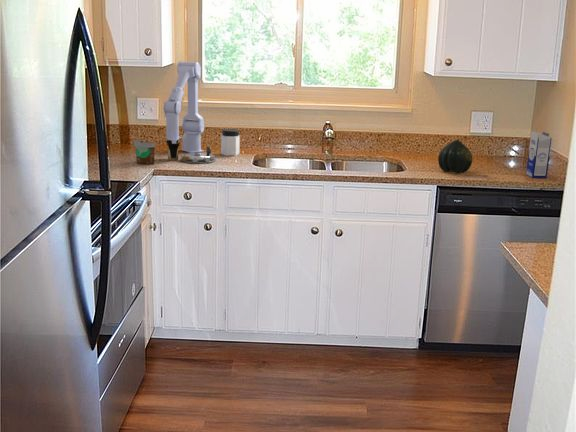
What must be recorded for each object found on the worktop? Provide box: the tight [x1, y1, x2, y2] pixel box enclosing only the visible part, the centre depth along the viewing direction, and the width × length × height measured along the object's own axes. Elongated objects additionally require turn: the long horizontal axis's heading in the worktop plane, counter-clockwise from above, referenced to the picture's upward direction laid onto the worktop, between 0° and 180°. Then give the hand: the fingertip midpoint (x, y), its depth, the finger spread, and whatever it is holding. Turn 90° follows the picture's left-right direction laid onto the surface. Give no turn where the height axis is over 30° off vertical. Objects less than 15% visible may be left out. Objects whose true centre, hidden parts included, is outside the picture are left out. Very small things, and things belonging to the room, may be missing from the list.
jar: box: [220, 128, 241, 157], centre depth 321 cm, size 9×8×12 cm
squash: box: [437, 139, 473, 175], centre depth 297 cm, size 14×15×15 cm
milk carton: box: [525, 130, 553, 179], centre depth 291 cm, size 7×7×20 cm
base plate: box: [180, 158, 216, 165], centre depth 304 cm, size 16×16×1 cm
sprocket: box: [180, 146, 216, 162], centre depth 304 cm, size 15×15×6 cm
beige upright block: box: [167, 148, 179, 162], centre depth 304 cm, size 3×3×5 cm
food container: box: [133, 138, 157, 166], centre depth 292 cm, size 12×6×10 cm, turn 47°
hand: (173, 156), depth 304 cm, fingers closed on beige upright block, 4 cm apart
